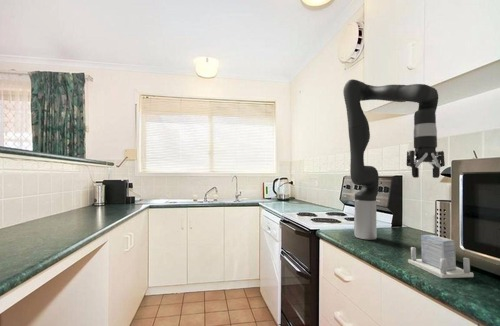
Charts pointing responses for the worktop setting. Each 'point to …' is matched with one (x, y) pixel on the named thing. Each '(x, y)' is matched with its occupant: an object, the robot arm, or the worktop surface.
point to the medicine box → (438, 251)
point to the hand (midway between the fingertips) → (425, 177)
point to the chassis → (442, 267)
